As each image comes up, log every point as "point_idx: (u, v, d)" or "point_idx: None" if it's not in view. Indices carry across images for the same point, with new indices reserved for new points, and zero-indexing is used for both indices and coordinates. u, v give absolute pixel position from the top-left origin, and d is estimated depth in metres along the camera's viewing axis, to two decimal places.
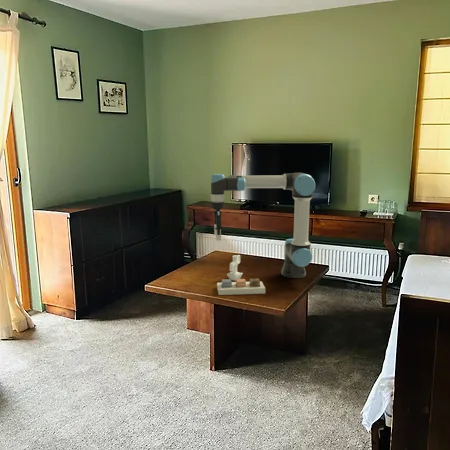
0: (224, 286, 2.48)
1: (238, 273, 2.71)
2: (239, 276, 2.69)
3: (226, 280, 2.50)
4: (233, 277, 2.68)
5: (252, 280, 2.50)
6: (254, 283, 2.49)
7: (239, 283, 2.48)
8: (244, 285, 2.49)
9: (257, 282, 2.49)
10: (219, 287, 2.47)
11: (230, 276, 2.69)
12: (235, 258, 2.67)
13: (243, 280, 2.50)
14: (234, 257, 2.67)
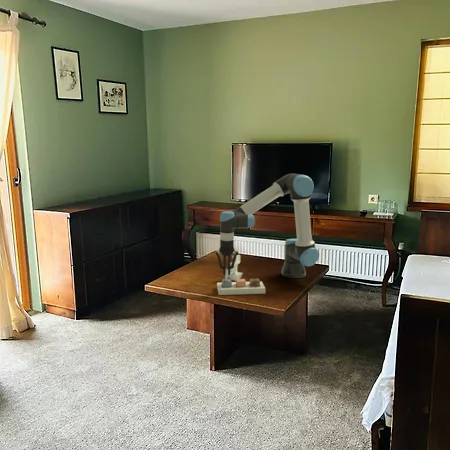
0: (224, 286, 2.48)
1: (238, 273, 2.71)
2: (239, 276, 2.69)
3: None
4: (233, 277, 2.68)
5: (252, 280, 2.50)
6: (254, 283, 2.49)
7: (239, 283, 2.48)
8: (244, 285, 2.49)
9: (257, 282, 2.49)
10: (219, 287, 2.47)
11: (230, 276, 2.69)
12: None
13: (243, 280, 2.50)
14: None
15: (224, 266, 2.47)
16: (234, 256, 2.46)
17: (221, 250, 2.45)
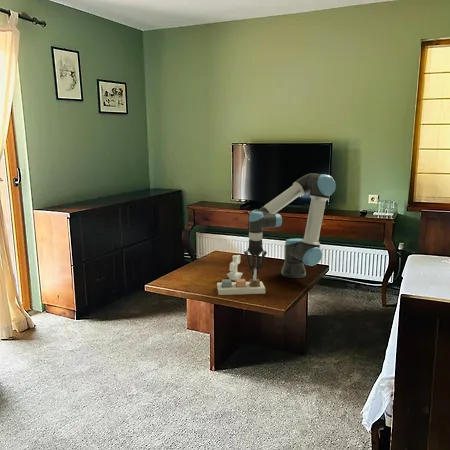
0: (224, 286, 2.48)
1: (238, 273, 2.71)
2: (239, 276, 2.69)
3: (226, 280, 2.50)
4: (233, 277, 2.68)
5: (252, 280, 2.50)
6: (254, 283, 2.49)
7: (239, 283, 2.48)
8: (244, 285, 2.49)
9: (257, 282, 2.49)
10: (219, 287, 2.47)
11: (230, 276, 2.69)
12: (235, 258, 2.67)
13: (243, 280, 2.50)
14: (234, 257, 2.67)
15: (252, 266, 2.48)
16: (262, 256, 2.48)
17: (250, 250, 2.46)
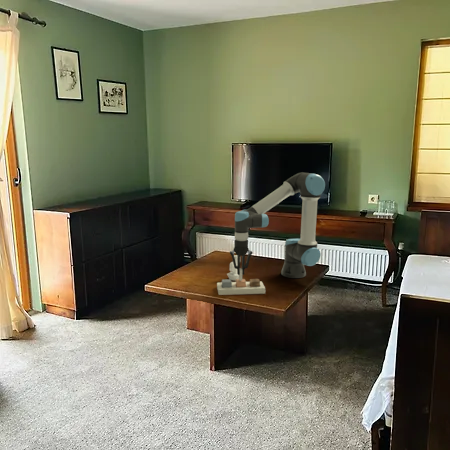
0: (224, 286, 2.48)
1: None
2: None
3: (226, 280, 2.50)
4: (233, 277, 2.68)
5: (252, 280, 2.50)
6: (254, 283, 2.49)
7: (239, 283, 2.48)
8: (244, 285, 2.49)
9: (257, 282, 2.49)
10: (219, 287, 2.47)
11: (230, 276, 2.69)
12: (235, 258, 2.67)
13: (243, 280, 2.50)
14: (234, 257, 2.67)
15: (238, 266, 2.47)
16: (248, 256, 2.47)
17: (235, 250, 2.46)
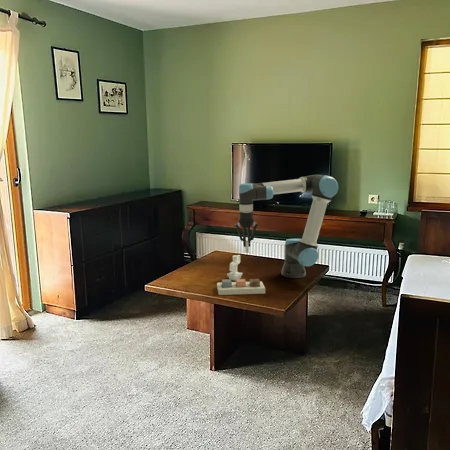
0: (224, 286, 2.48)
1: (238, 273, 2.71)
2: (239, 276, 2.69)
3: (226, 280, 2.50)
4: (233, 277, 2.68)
5: (252, 280, 2.50)
6: (254, 283, 2.49)
7: (239, 283, 2.48)
8: (244, 285, 2.49)
9: (257, 282, 2.49)
10: (219, 287, 2.47)
11: (230, 276, 2.69)
12: (235, 258, 2.67)
13: (243, 280, 2.50)
14: (234, 257, 2.67)
15: (244, 238, 2.50)
16: (254, 228, 2.49)
17: (241, 222, 2.48)
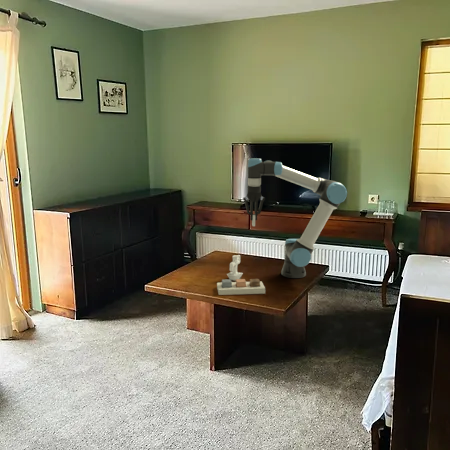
0: (224, 286, 2.48)
1: (238, 273, 2.71)
2: (239, 276, 2.69)
3: (226, 280, 2.50)
4: (233, 277, 2.68)
5: (252, 280, 2.50)
6: (254, 283, 2.49)
7: (239, 283, 2.48)
8: (244, 285, 2.49)
9: (257, 282, 2.49)
10: (219, 287, 2.47)
11: (230, 276, 2.69)
12: (235, 258, 2.67)
13: (243, 280, 2.50)
14: (234, 257, 2.67)
15: (251, 211, 2.56)
16: (261, 202, 2.56)
17: (249, 196, 2.54)
